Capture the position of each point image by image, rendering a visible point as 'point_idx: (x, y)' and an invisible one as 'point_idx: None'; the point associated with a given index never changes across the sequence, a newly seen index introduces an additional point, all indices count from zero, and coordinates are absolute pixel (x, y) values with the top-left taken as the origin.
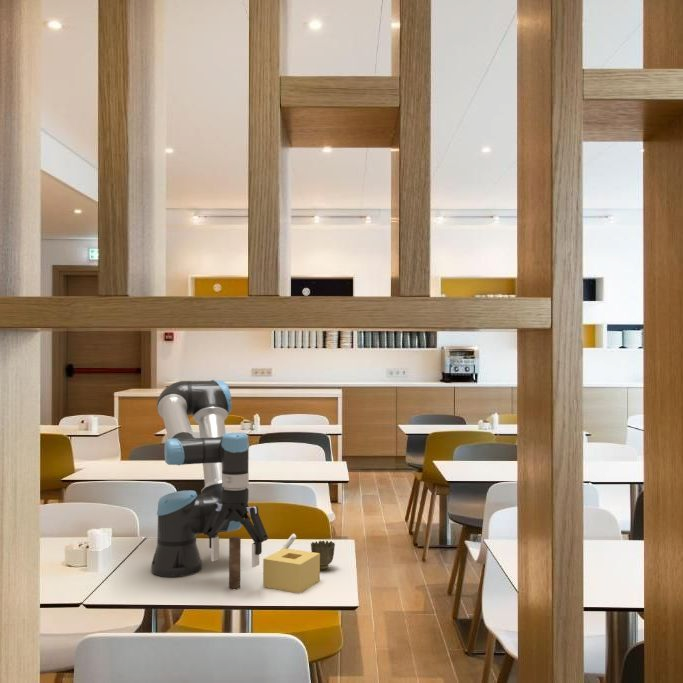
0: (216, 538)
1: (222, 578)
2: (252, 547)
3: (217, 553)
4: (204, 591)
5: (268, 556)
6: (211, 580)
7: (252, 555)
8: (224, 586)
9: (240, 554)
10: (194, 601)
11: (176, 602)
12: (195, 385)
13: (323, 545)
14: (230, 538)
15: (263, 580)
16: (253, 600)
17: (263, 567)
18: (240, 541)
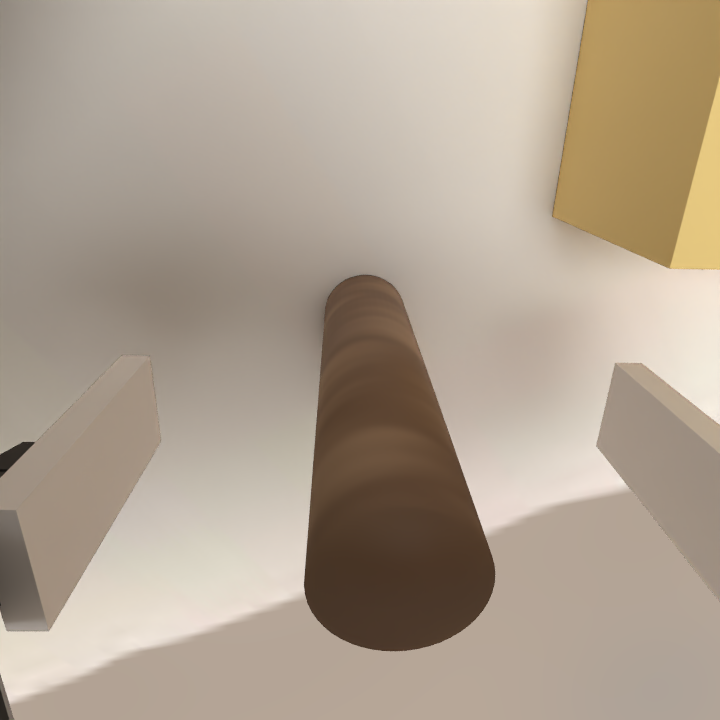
0: (41, 555)
1: (153, 170)
2: (718, 588)
3: (129, 409)
4: (229, 445)
5: (705, 153)
6: (113, 250)
7: (660, 516)
8: (285, 320)
9: (440, 411)
10: (284, 575)
11: (211, 615)
12: None
13: None
14: (335, 612)
15: (574, 225)
16: (583, 448)
17: (625, 248)
18: (478, 518)
